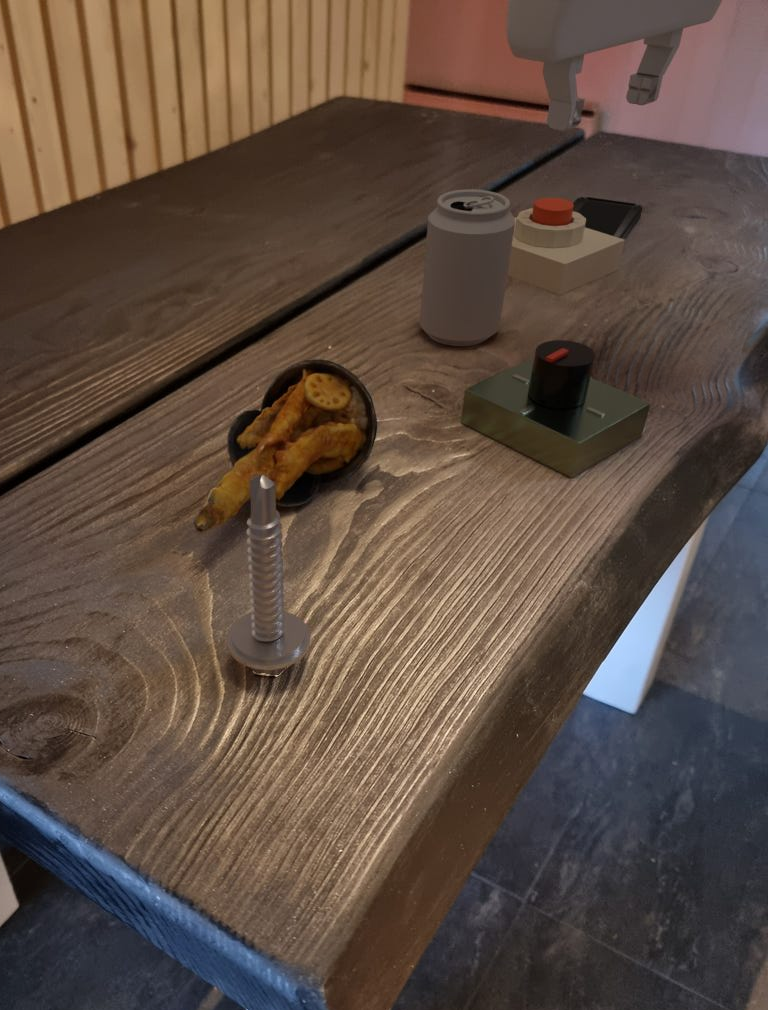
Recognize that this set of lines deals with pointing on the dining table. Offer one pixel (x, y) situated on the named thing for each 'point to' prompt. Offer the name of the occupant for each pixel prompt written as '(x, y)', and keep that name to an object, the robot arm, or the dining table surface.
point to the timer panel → (554, 420)
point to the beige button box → (561, 253)
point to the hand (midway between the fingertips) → (603, 115)
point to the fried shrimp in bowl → (296, 439)
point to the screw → (266, 594)
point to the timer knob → (561, 374)
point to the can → (466, 266)
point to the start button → (552, 211)
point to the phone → (608, 215)
